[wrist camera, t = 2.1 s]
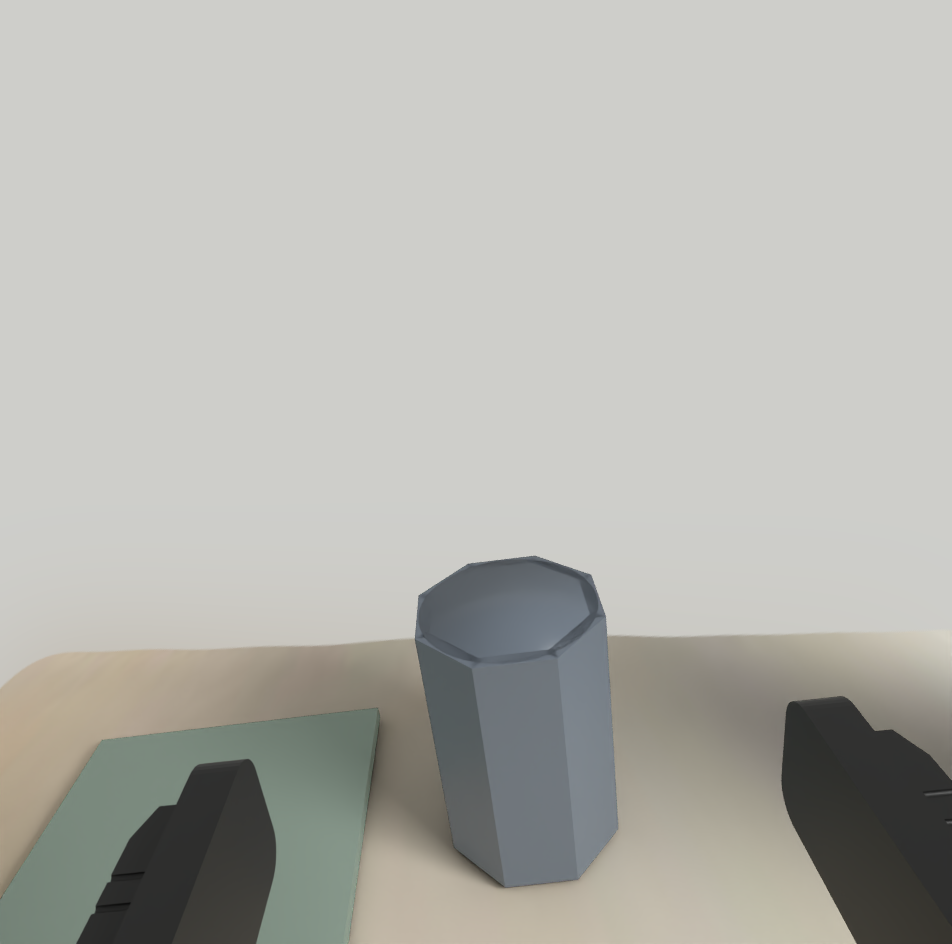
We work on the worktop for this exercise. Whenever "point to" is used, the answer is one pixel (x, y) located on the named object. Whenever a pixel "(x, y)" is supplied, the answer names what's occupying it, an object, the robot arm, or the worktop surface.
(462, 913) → the worktop surface
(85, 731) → the worktop surface
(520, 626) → the grey octagonal prism
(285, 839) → the mat
